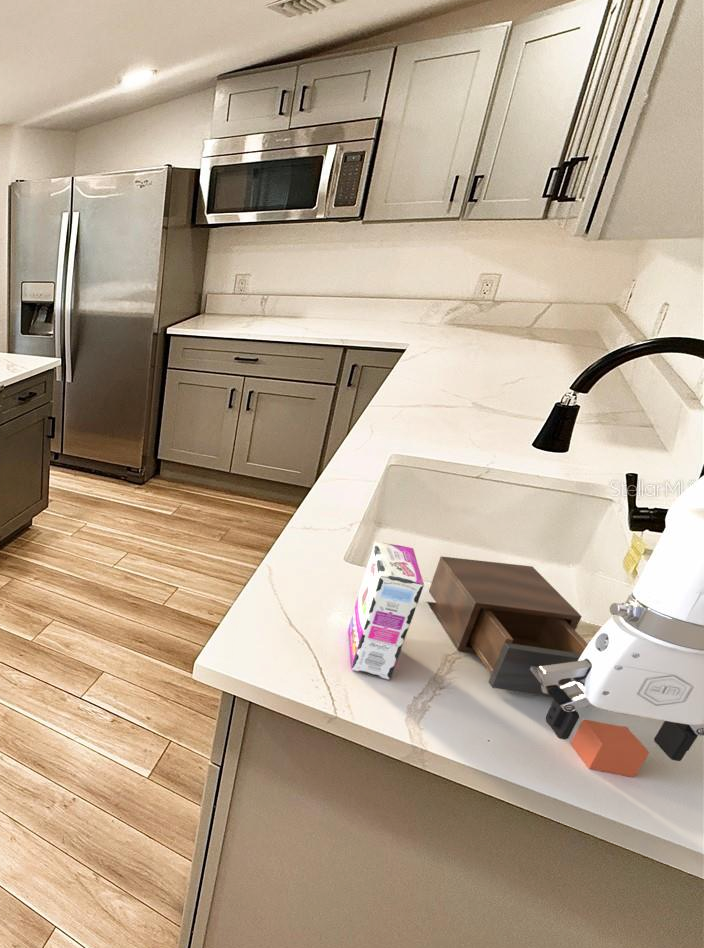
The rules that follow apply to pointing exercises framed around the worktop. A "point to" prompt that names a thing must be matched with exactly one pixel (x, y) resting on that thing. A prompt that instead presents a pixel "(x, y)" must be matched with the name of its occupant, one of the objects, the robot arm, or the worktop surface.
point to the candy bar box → (384, 609)
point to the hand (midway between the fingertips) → (609, 740)
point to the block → (609, 748)
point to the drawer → (523, 648)
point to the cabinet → (491, 595)
